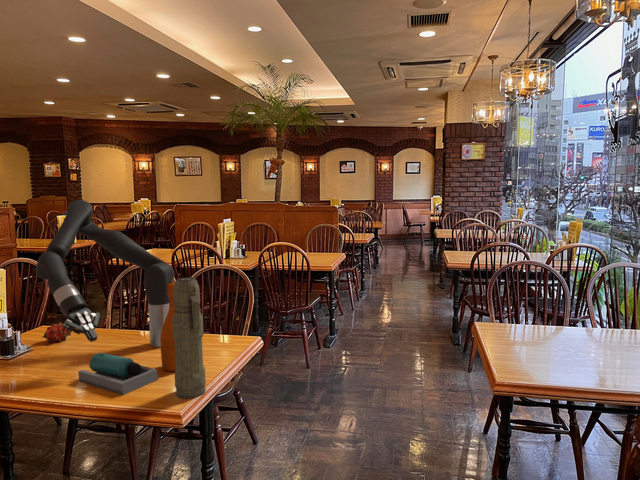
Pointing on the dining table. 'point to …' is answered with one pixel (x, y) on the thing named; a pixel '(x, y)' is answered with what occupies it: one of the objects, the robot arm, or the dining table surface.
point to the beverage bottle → (114, 365)
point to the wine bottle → (168, 336)
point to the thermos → (188, 339)
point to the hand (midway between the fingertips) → (94, 340)
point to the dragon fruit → (56, 333)
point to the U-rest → (119, 380)
